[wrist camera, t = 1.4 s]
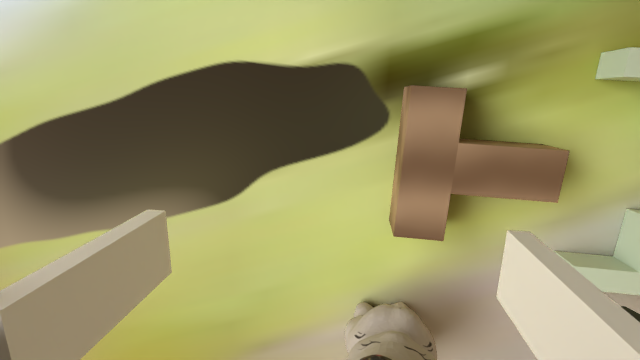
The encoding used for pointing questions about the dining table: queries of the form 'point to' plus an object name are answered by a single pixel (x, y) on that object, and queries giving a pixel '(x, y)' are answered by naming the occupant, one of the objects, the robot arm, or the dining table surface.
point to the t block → (459, 164)
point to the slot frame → (636, 231)
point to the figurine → (388, 334)
